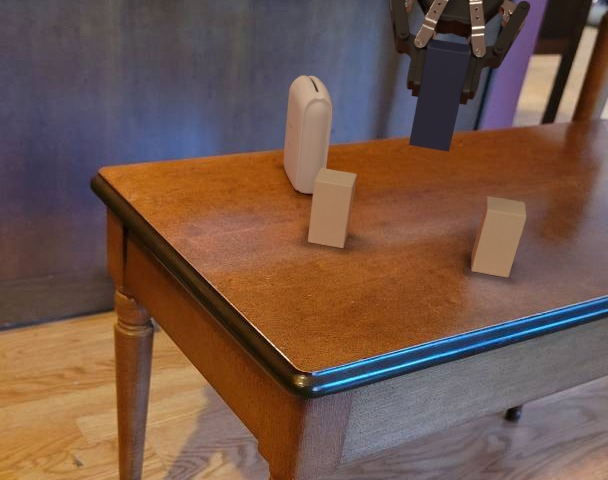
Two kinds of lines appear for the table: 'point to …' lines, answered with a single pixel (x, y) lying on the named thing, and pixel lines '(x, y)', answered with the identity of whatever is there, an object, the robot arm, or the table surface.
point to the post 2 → (498, 236)
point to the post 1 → (331, 207)
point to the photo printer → (307, 132)
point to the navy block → (440, 94)
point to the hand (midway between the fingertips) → (440, 95)
